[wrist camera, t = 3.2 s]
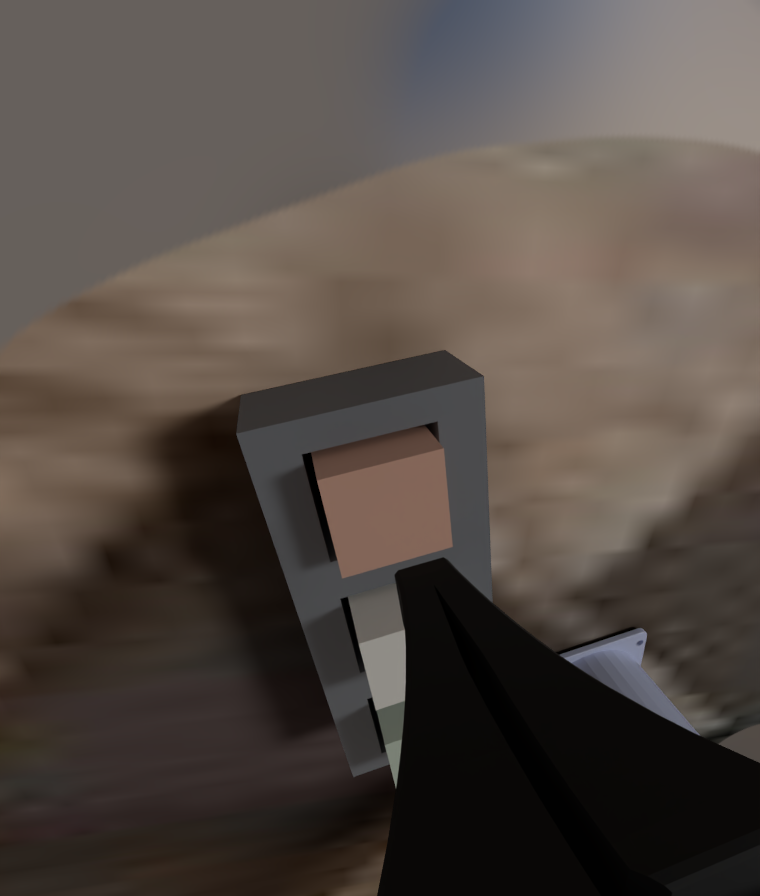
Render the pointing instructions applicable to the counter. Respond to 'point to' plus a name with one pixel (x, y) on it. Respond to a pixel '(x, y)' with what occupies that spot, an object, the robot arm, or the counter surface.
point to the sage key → (392, 733)
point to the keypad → (306, 527)
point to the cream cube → (381, 642)
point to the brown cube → (385, 499)
